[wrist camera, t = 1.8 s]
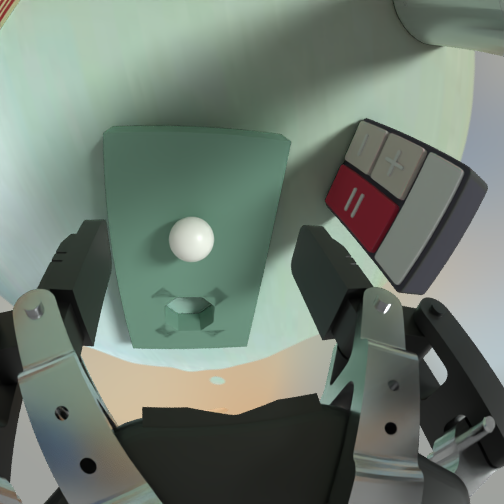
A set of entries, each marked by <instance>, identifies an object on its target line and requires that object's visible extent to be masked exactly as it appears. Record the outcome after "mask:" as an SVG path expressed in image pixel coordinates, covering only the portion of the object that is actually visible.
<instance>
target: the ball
mask: <svg viewBox="0 0 504 504" xmlns="http://www.w3.org/2000/svg"><path fill="white" fill-rule="evenodd" d="M169 244H170V248H171V250H172V252H173V253H174V255H175V256H177V257H178V258H179V259H181V260H183V261H186V262H197V261H200V260H202V259H204V258H205V257H206V256H207V255H208V254H209V253H210V252H211V250H212V248H213V244H214V234H213V231H212V229H211V227H210V226H209V224H208V223H207V222H205V221H204V220H203V219H200V218H198V217H186V218H183V219H181V220H179V221H178V222H176V223H175V225H174V226H173V227H172V229H171V231H170V235H169Z"/></svg>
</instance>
